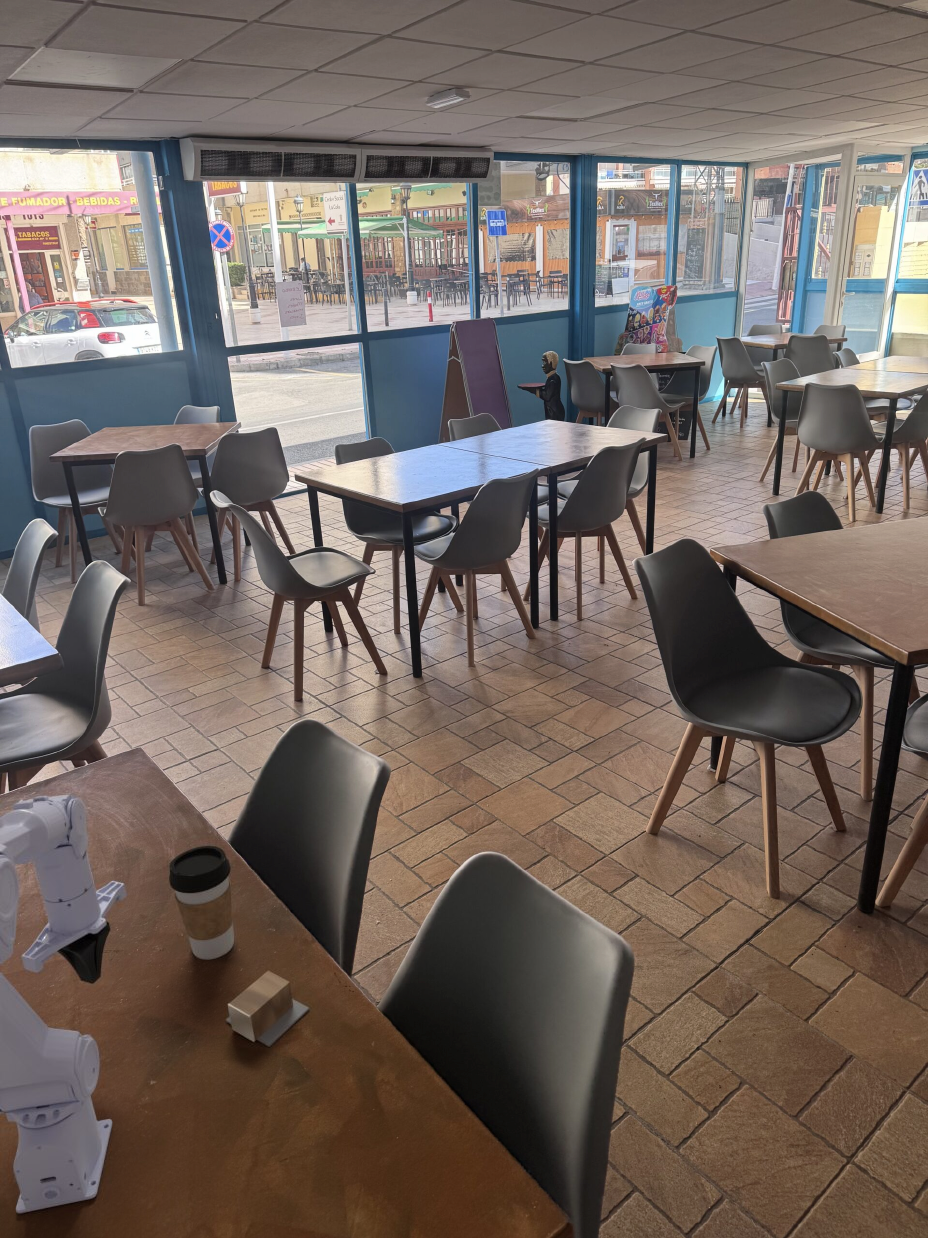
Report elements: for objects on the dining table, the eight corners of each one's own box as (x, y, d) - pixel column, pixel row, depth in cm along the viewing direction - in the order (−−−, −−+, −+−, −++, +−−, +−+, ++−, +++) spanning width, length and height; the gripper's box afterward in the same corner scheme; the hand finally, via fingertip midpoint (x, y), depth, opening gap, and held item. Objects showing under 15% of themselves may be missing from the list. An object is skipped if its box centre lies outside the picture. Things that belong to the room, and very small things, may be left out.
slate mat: (269, 1047, 110) (268, 1045, 110) (226, 1021, 114) (225, 1019, 114) (309, 1009, 115) (309, 1007, 115) (266, 986, 120) (266, 985, 120)
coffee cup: (171, 956, 127) (153, 868, 122) (212, 920, 134) (196, 836, 128) (214, 973, 123) (198, 883, 118) (254, 935, 130) (240, 849, 125)
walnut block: (249, 1017, 109) (289, 982, 114) (227, 1004, 111) (268, 970, 116) (253, 1042, 110) (293, 1006, 116) (232, 1029, 112) (272, 994, 118)
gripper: (45, 934, 97) (70, 1030, 101) (136, 858, 109) (156, 947, 114) (-2, 920, 99) (25, 1014, 104) (93, 848, 112) (113, 935, 116)
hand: (90, 978), depth 109 cm, fingers closed
